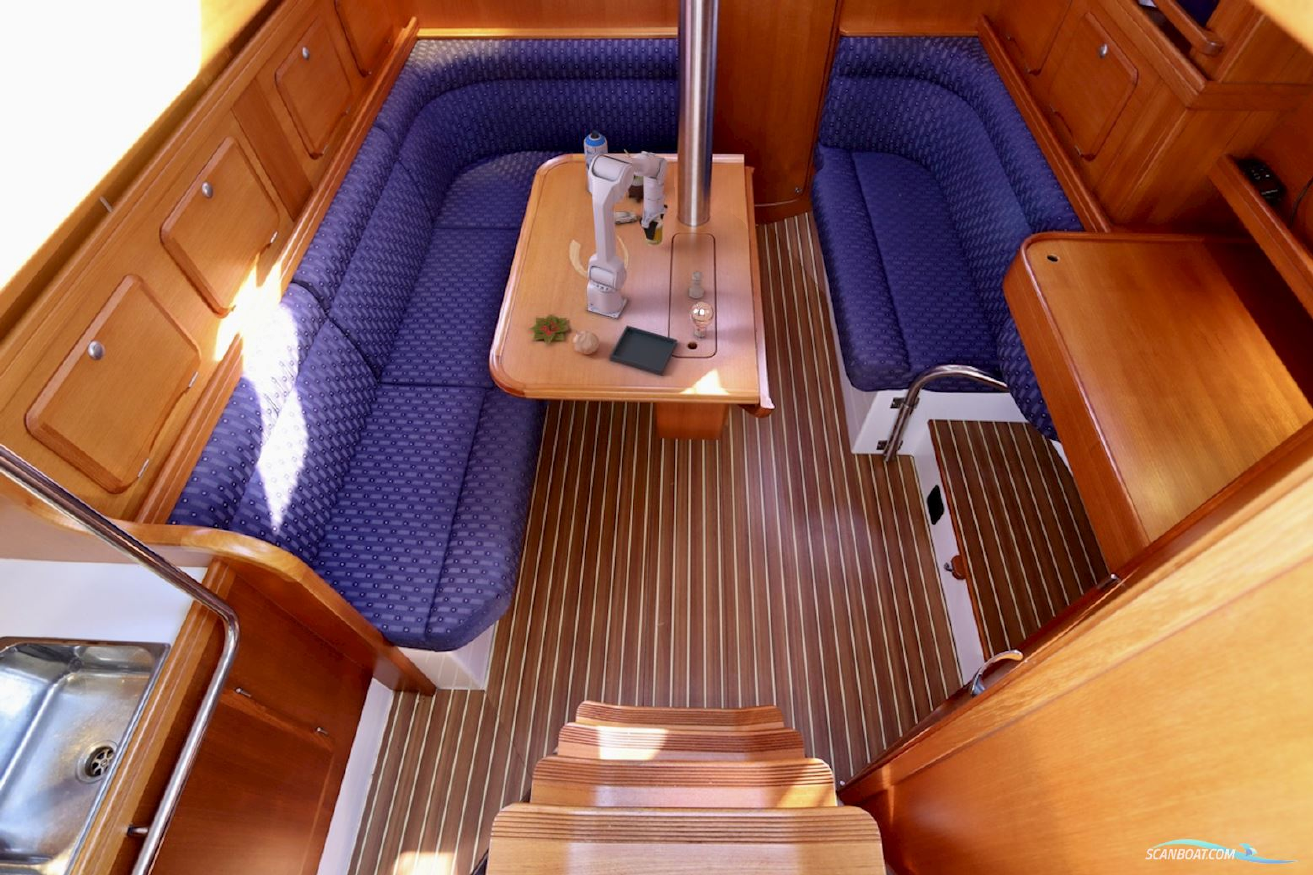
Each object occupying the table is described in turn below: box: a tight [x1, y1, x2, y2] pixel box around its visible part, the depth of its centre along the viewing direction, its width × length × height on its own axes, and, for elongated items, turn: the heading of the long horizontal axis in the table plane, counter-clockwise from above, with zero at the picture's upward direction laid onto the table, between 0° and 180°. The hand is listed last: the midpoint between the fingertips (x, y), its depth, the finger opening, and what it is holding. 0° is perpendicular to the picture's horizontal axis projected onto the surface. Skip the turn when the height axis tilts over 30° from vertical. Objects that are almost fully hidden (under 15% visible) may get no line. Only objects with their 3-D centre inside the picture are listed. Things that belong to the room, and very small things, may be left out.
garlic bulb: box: [572, 330, 600, 355], centre depth 177 cm, size 7×6×8 cm
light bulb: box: [688, 300, 715, 338], centre depth 179 cm, size 7×7×12 cm
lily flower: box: [530, 314, 571, 345], centre depth 183 cm, size 12×12×5 cm
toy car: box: [614, 210, 638, 226], centre depth 211 cm, size 4×8×3 cm, turn 104°
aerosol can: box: [583, 129, 609, 192], centre depth 213 cm, size 8×8×20 cm
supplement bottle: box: [644, 215, 664, 247], centre depth 197 cm, size 5×5×10 cm
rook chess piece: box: [688, 270, 704, 299], centre depth 190 cm, size 4×4×8 cm
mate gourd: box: [623, 148, 644, 203], centre depth 213 cm, size 8×8×15 cm
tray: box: [609, 325, 678, 377], centre depth 179 cm, size 15×12×2 cm
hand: (653, 233), depth 199 cm, fingers closed on supplement bottle, 5 cm apart
